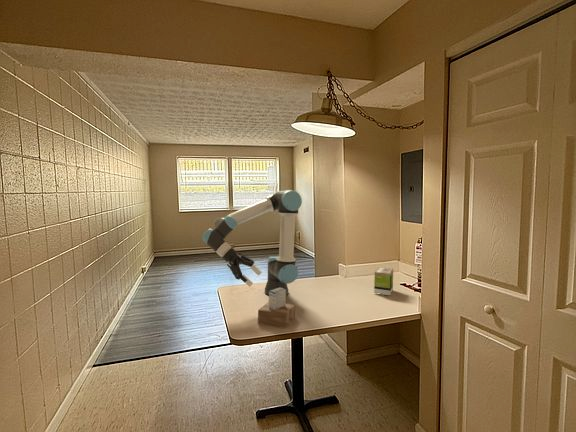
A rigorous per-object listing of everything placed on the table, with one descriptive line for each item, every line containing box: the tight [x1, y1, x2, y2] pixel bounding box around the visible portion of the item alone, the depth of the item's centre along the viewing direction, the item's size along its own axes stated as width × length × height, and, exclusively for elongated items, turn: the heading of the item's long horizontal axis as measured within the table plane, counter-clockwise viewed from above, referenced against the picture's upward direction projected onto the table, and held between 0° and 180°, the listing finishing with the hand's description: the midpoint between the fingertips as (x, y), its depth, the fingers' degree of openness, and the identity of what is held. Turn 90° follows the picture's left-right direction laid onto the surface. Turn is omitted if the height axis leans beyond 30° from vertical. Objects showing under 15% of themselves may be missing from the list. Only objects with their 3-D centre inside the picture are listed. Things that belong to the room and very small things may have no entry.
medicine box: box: [268, 288, 287, 310], centre depth 152 cm, size 8×4×9 cm, turn 140°
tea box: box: [373, 267, 394, 296], centre depth 203 cm, size 15×10×15 cm, turn 154°
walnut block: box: [257, 301, 296, 329], centre depth 153 cm, size 14×14×7 cm
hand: (256, 279), depth 165 cm, fingers open, 13 cm apart
